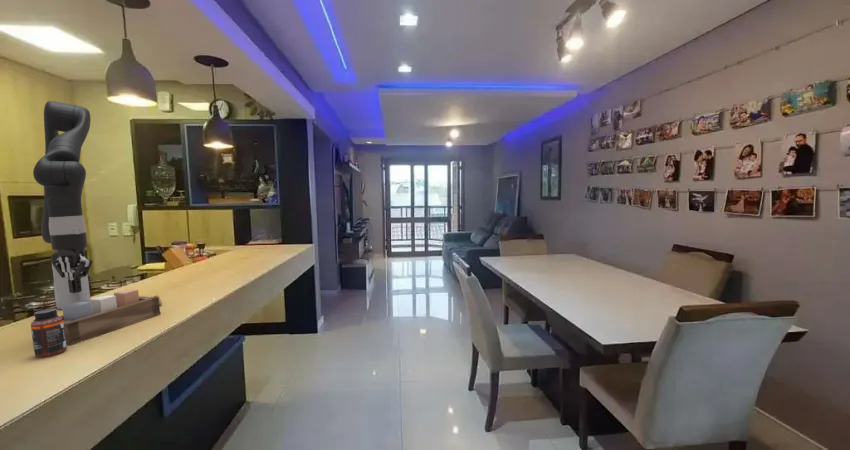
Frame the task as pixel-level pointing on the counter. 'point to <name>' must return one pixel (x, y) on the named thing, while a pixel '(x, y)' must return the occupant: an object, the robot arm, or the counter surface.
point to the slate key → (77, 311)
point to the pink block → (126, 297)
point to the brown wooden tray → (110, 320)
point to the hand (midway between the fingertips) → (75, 292)
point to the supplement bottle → (48, 333)
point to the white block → (103, 304)
